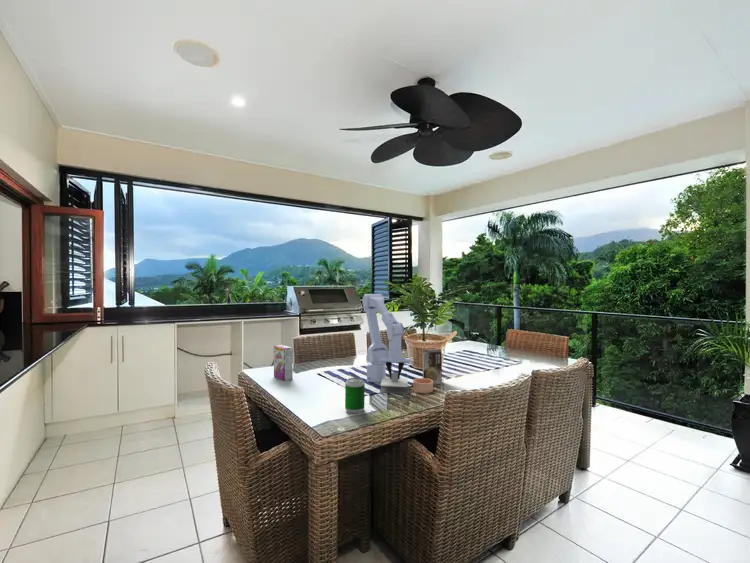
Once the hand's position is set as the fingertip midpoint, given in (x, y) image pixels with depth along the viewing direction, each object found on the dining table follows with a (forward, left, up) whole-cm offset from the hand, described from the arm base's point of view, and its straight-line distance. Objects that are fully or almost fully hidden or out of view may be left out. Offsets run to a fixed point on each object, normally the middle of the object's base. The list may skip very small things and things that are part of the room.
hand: (394, 378), depth 163 cm
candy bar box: (-58, +11, -5) cm, 59 cm away
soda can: (-14, -28, -5) cm, 32 cm away
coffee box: (+18, +13, -5) cm, 23 cm away
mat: (0, 0, -5) cm, 5 cm away
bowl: (+13, 0, -5) cm, 14 cm away
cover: (0, 0, -2) cm, 2 cm away
